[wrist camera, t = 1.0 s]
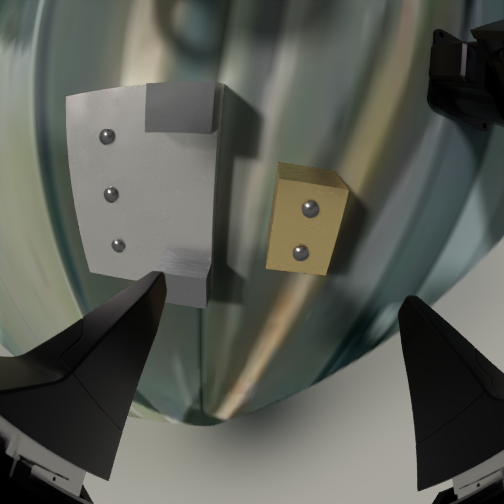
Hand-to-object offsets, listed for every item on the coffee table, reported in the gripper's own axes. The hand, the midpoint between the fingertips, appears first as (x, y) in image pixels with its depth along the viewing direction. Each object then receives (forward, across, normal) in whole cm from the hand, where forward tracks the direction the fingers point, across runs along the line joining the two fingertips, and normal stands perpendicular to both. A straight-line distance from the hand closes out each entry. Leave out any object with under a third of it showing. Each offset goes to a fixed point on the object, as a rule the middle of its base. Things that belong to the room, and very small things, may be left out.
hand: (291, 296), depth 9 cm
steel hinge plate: (+11, +11, +1) cm, 15 cm away
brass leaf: (+11, -1, +1) cm, 11 cm away
